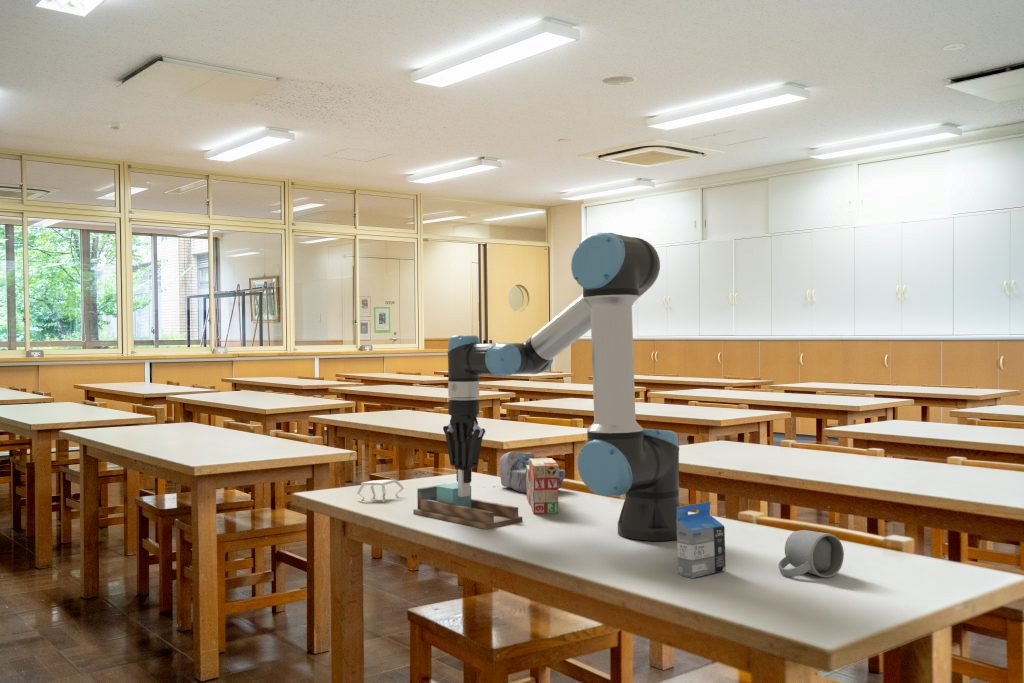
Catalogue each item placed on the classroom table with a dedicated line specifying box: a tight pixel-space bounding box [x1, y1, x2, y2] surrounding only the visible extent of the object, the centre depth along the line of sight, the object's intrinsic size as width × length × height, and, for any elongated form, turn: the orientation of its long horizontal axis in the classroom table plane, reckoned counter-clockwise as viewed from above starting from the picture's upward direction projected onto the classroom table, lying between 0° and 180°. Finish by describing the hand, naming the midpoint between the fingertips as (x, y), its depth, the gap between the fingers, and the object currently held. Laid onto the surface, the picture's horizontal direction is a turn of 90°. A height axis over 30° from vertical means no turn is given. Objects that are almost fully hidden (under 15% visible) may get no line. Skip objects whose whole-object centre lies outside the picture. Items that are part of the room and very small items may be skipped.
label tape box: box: [676, 501, 727, 579], centre depth 154 cm, size 9×4×12 cm, turn 124°
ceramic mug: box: [778, 529, 845, 579], centre depth 154 cm, size 11×8×8 cm
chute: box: [412, 483, 523, 530], centre depth 205 cm, size 26×12×6 cm, turn 45°
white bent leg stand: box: [357, 479, 405, 503], centre depth 230 cm, size 12×8×5 cm
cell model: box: [498, 451, 566, 494], centre depth 243 cm, size 13×11×20 cm
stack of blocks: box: [526, 457, 559, 515], centre depth 219 cm, size 21×6×12 cm, turn 4°
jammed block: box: [436, 482, 472, 508], centre depth 208 cm, size 6×6×6 cm
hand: (464, 495), depth 206 cm, fingers closed
